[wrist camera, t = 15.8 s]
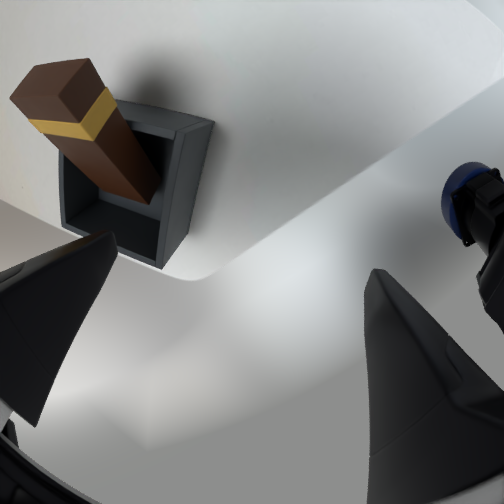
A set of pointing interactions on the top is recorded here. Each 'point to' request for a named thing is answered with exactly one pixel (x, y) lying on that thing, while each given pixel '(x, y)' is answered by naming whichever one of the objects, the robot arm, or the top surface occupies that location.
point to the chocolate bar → (87, 127)
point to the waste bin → (165, 198)
